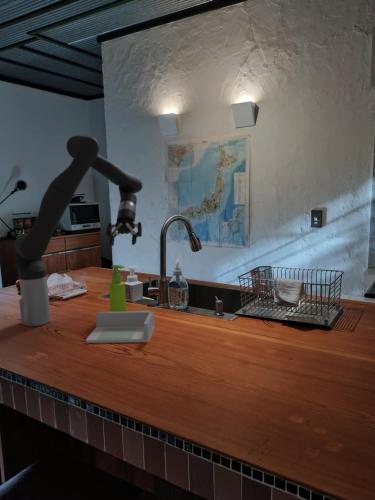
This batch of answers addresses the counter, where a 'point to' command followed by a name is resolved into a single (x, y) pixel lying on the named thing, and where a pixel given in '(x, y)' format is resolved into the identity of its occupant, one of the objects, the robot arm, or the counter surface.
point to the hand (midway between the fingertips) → (122, 244)
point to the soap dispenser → (117, 291)
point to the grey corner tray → (122, 327)
